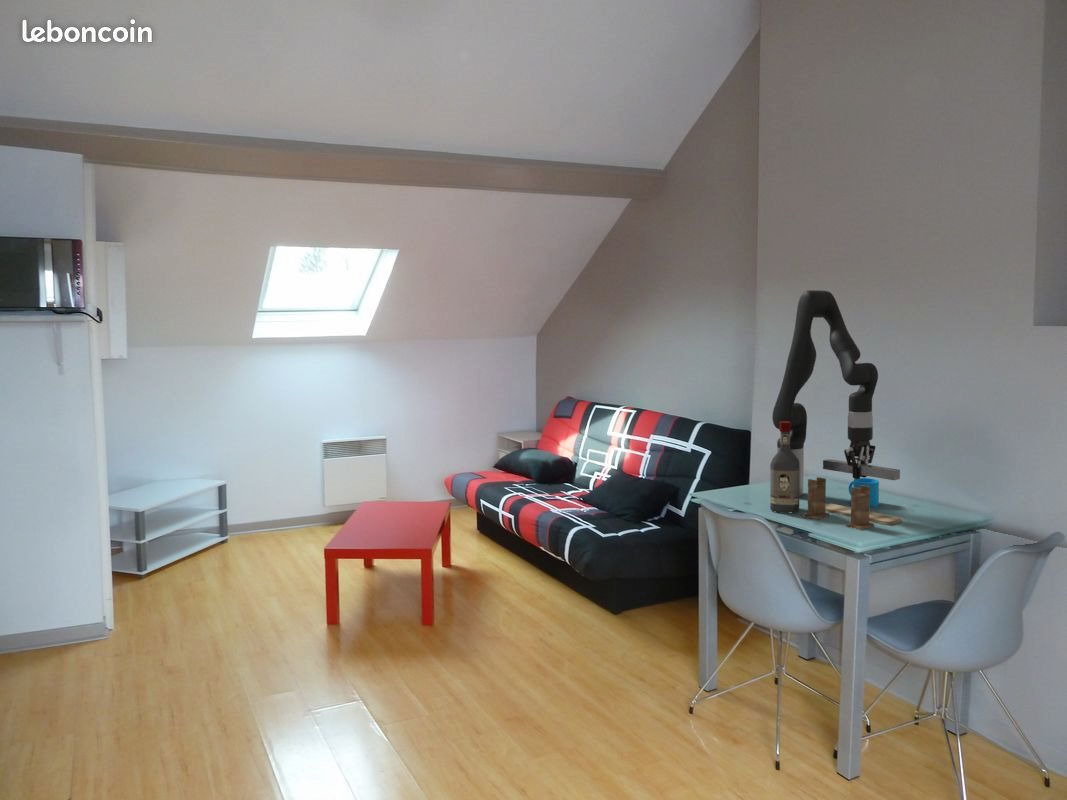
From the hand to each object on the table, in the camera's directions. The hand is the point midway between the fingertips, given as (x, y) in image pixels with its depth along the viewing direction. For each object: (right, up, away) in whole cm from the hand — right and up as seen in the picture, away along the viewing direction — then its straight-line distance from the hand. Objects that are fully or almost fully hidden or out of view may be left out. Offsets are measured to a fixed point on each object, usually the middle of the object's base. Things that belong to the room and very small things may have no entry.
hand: (859, 477), depth 268 cm
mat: (0, -12, +1) cm, 13 cm away
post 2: (-4, -14, -11) cm, 19 cm away
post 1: (-13, -13, +2) cm, 19 cm away
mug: (+8, -11, +19) cm, 23 cm away
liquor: (-21, -12, +11) cm, 27 cm away
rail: (0, +1, 0) cm, 1 cm away
